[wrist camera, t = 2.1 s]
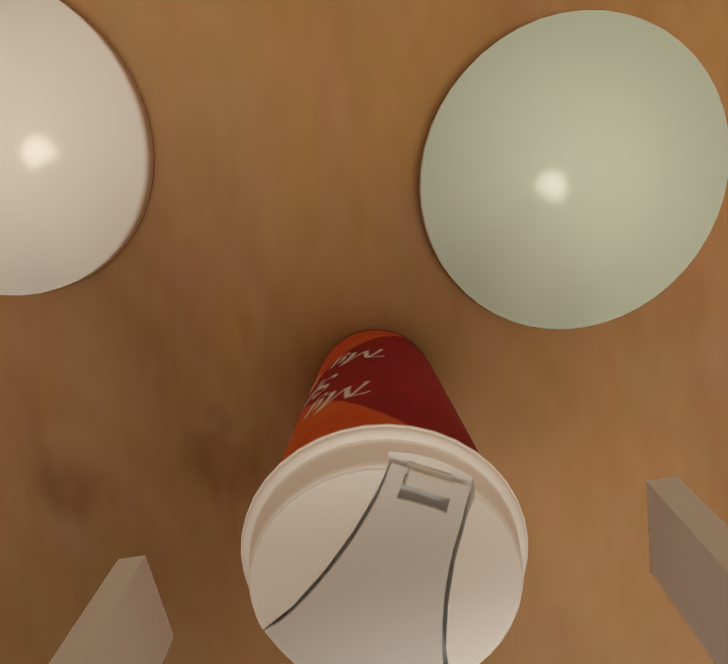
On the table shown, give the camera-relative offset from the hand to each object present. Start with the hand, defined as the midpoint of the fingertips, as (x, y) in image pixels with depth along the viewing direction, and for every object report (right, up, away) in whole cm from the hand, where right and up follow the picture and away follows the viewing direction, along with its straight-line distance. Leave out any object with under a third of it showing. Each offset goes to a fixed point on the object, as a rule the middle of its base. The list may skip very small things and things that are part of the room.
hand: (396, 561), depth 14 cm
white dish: (-17, +14, +10) cm, 24 cm away
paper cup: (0, +3, +13) cm, 13 cm away
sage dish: (+8, +13, +10) cm, 18 cm away
